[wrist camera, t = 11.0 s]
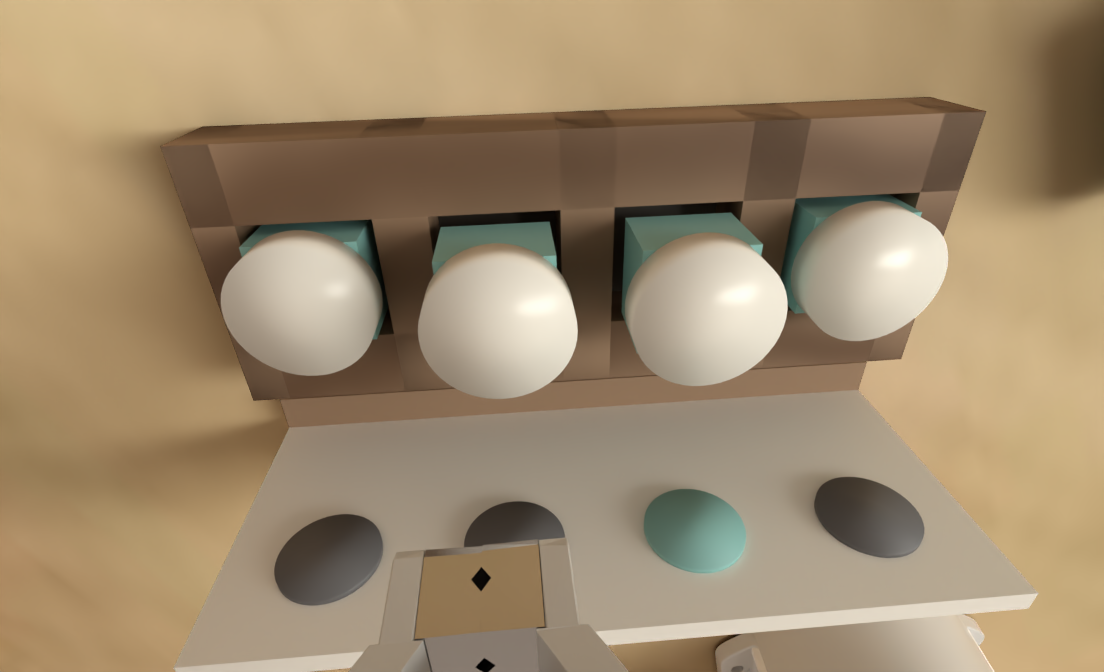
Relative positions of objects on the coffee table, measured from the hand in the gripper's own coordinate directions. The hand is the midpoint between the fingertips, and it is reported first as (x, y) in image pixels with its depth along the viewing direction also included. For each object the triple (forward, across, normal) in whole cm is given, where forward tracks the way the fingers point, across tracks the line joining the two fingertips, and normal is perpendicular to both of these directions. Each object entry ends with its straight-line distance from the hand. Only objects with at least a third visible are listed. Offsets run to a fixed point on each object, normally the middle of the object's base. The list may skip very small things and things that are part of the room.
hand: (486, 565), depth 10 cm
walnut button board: (+16, -4, 0) cm, 16 cm away
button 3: (+13, 0, 0) cm, 13 cm away
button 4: (+15, +6, 0) cm, 16 cm away
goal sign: (+16, -4, +9) cm, 18 cm away
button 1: (+15, -13, 0) cm, 20 cm away
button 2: (+13, -7, 0) cm, 14 cm away
